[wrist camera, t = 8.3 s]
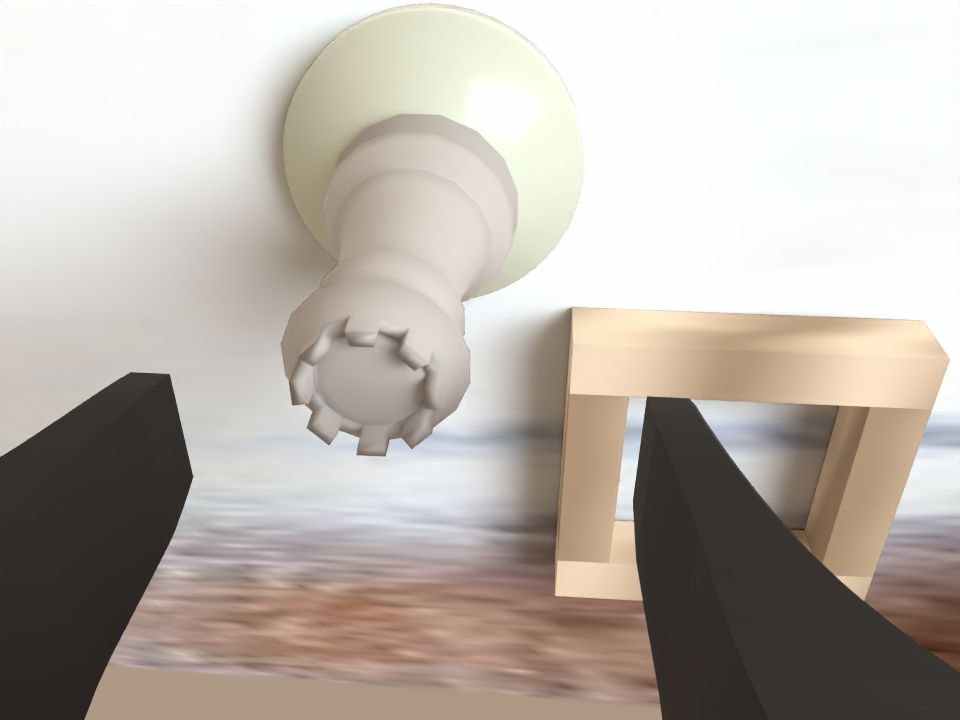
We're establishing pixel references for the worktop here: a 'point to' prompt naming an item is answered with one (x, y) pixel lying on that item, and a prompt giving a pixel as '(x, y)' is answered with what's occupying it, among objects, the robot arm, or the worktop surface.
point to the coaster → (442, 113)
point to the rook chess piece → (400, 280)
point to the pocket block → (754, 378)
